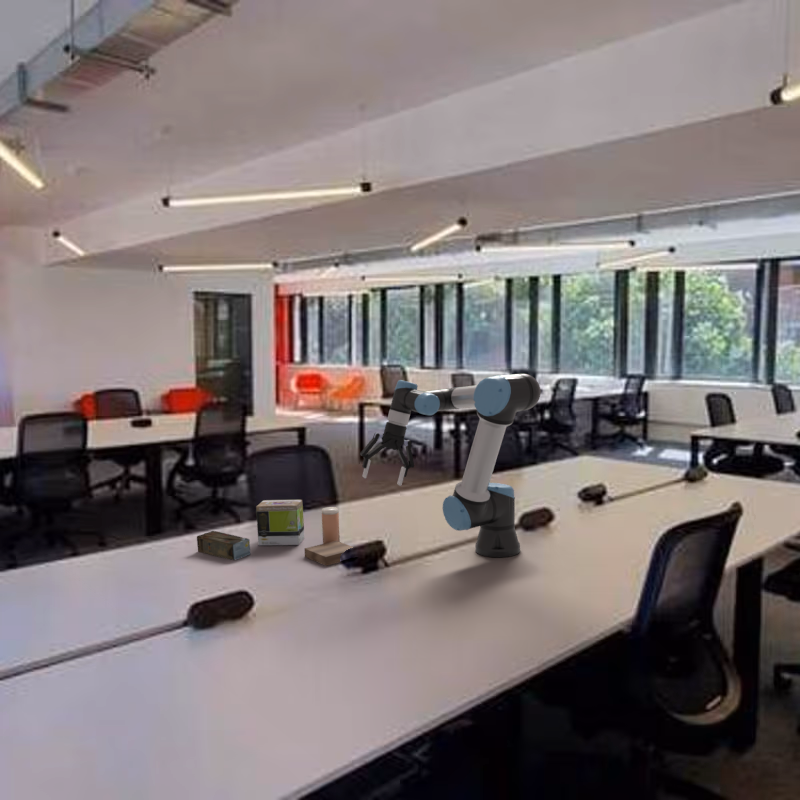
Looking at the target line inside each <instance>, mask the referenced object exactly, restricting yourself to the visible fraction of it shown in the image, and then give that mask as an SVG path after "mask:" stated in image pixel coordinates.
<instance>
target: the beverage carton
mask: <svg viewBox="0 0 800 800" xmlns="http://www.w3.org/2000/svg"><path fill="white" fill-rule="evenodd" d="M250 542H251V541H250V539H249V538H247V537H243V536H238V535H233V534H231V533H230V534H229V533H225V532H222V531H216V530H210V531H209V532H205V533H204V532H203V533H202V534H199V535H197V536H196V543H197V552H198V553H201V554H205V555H209V556H214V557H218V558H222V557H223V559H226V558H227V560H231V559H233V560H232V561H236V560H235V559H237V560H239V558H240V559H242V558H244V556H245V557H247V555H248V556H250V555H251V544H250ZM241 557H242V558H241Z"/></svg>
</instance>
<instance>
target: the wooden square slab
mask: <svg viewBox="0 0 800 800" xmlns="http://www.w3.org/2000/svg"><path fill="white" fill-rule="evenodd" d="M353 547H354V546H352V545H350V544H347V543H344V542H341V541H340V542H339V541H333V542H329V543H325V544H323V543H321V544H317V545H313V546H308V547H305V548H304V558H306V559H308V560H311V561H313V562H316V563H318V564H321V565H323V566H330V565H334V564H339V563H341V562H340V556H341V554H342V553H344V552H345V551H346V550H348V549H350V548H353Z"/></svg>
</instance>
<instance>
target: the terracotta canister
mask: <svg viewBox="0 0 800 800" xmlns="http://www.w3.org/2000/svg"><path fill="white" fill-rule="evenodd" d="M339 514H340V513H339V507H335V506H334V507H333V506H330V507H323V508H321V527H322V529H321V531H322V544H325V543H329V542H333V541H339V542H341V540H340V538H341V536H340V515H339Z"/></svg>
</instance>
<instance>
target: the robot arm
mask: <svg viewBox="0 0 800 800" xmlns="http://www.w3.org/2000/svg"><path fill="white" fill-rule="evenodd" d="M394 388H395V389H394V392H393V395H392V400H391V404H390V408H389V411H388V415H387V418H386V419H387V422H386V423H385V427H384V431H383V433H382V434H381V433H379V432H376V431H375V432H374V433H373V435H372V436H373V437H372V438H371V439H370V441H369V442H368V443H367V444H366V445H365V447H364V448H363V449H362V450H361V451H360V453H359V455H360V456H361V457H362V458H363V461H362V462H363V463H362V468H363V470H362V471H363V472H362V476H361V477H363V479H367V477H368V473H369V469H370V465H371V462H372V460H370V459H371V458H372V457H374V456H376V454H377V453H380V452H381V451H382V450H383V449H385V448H386V449H389V450H390V449H391V450H393V451H396V452H397V454H398V456H399V458H400V461H401V463H402V465H403V466H401V468H400V471H399V475H398V479H397V482H396V483H397V485H398V486H401V487H402V484H403V482H404V477H407V476H408V475H407V474H408V471H409V469H410V468H415V462H414V456H413V451H412V440H410V439H405V436H406V432H407V426H408V424H409V422H410V418H411V417H410V416H411V414H412V412H415V413H419V414H420V415H425V416H433V415H435V414H436V413H437V412H441V411H450V410H451V411H452V410H463V409H474V408H475V410H476V415H477V416H478V418H479V421H478V423H477V428H476V431H475V435H474V438H473V441H472V444H471V447H470V452H469V455H468V459H467V462H466V466H465V468H464V469H465V470H464V471H463V476H462V480H461V481H459V482H457V483H456V484H455V487H454V490H453V494H452V495H448V496H447V497H445V498H444V499H443V502H442V513H443V516H444V520H445V522H446V523H447V524H448V525H449V527H450V528H452V529H453V530H455V531H459V532H461V531H468V530H470V529H474V528H478V527H479V532H478V535H477V539H476V542H475V548H474V549H475V550H474V551H475V553H477V554H478V555H480V556H484V557H489V558H506V557H507V558H509V557H513V556H516V555H518V554H520V553H521V543H520V541H519V538H518V536H517V535H518V534H517V532H516V529H515V527H516V525H515V523H516V522H515V521H516V520H515V519H516V518H515V515H516V514H515V511H516V509H515V507H516V505H515V503H516V502H515V499H516V496H515V490H514V488H513V486H511V485H509V484H506V483H499V482H491V478H492V475H493V472H494V469H495V465H496V462H497V458H498V455H499V453H500V449H501V446H502V442H503V440H504V435H505V433H506V429H507V427H509V426H511V425H512V424H513V423H514V420H515V417H516V414H517V412H523V411H528V410H530V409H532V408H534V407H535V406H536V405H537V404H538V402H539V401H540V398H541V393H542V392H541V390H542V389H541V386H540V383H539V382H538V381H537V379H536V378H535V377H534V376H532V375H530V374H527V373H514V374H506V375H505V374H503V375H501V374H500V375H499V374H497V375H492V376H487V377H485V378H483V379H482V380H481V381H479V382H478V383H477V384H476V385H469V386H468V385H467V386H459V387H450V388H443V389H433V390H432V389H431V390H419V389H418V384H417V383H415V382H411V381H407V380H402V379H398V381H397V383H396V385H395V387H394ZM380 439H381V442H380V443H379V444H378V445H377V446H376V447H374V446H375V444H376V443H377V442H378V440H380ZM403 444H404V446H405V452H406V456H405V453H404V451H403V449H402V446H403ZM373 447H374V448H373ZM406 457H407V458H406Z"/></svg>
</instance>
